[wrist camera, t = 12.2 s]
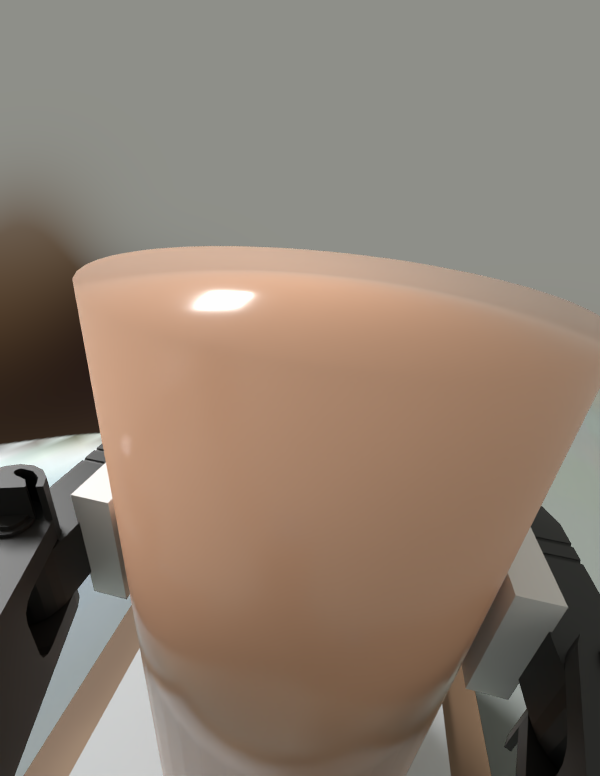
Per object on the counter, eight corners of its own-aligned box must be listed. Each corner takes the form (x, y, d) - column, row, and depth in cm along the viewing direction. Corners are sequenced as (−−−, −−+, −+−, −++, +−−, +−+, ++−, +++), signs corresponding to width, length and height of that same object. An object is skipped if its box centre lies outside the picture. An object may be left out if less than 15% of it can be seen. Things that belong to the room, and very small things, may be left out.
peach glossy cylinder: (98, 828, 8) (-130, 295, 3) (218, 565, 15) (213, 237, 9) (414, 942, 7) (889, 455, 2) (399, 609, 14) (510, 272, 8)
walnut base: (-77, 1093, 9) (-187, 1081, 7) (184, 589, 22) (179, 519, 19) (509, 1386, 7) (652, 1518, 5) (429, 652, 20) (459, 584, 17)
